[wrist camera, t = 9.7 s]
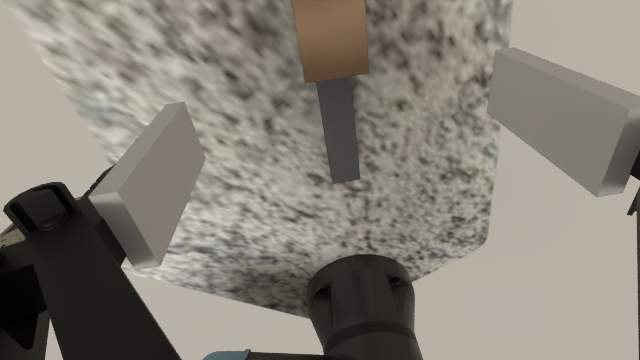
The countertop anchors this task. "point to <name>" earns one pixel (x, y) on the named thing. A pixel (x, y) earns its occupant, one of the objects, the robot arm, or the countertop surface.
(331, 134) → the rail
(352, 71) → the brown block
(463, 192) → the countertop surface
